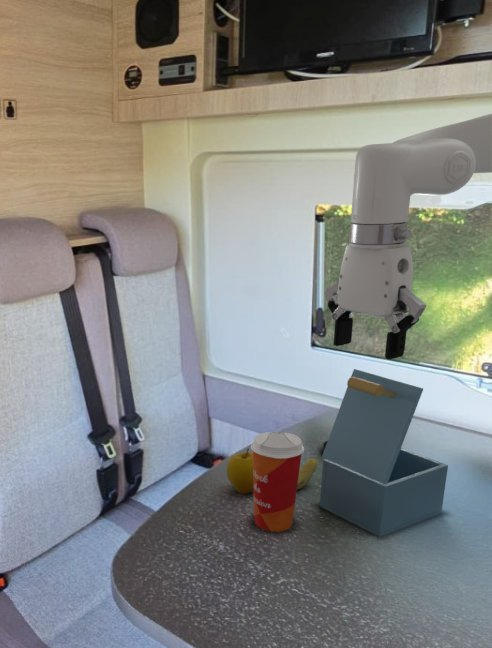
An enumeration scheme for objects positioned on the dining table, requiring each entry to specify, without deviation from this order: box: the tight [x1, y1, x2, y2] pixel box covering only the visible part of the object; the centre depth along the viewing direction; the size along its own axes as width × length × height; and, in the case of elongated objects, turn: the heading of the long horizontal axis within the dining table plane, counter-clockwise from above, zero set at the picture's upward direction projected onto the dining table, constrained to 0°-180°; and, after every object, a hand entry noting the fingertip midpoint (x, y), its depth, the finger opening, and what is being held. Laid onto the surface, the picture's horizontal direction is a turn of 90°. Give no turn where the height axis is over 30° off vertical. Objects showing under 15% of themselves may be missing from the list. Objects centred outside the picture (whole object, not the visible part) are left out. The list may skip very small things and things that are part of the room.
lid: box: [321, 368, 424, 484], centre depth 113 cm, size 16×13×6 cm
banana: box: [297, 457, 318, 491], centre depth 131 cm, size 10×2×4 cm, turn 136°
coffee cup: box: [250, 431, 305, 533], centre depth 117 cm, size 8×8×15 cm
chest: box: [319, 447, 449, 538], centre depth 120 cm, size 15×13×9 cm
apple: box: [226, 447, 254, 495], centre depth 130 cm, size 6×6×8 cm
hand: (367, 350), depth 109 cm, fingers open, 9 cm apart
